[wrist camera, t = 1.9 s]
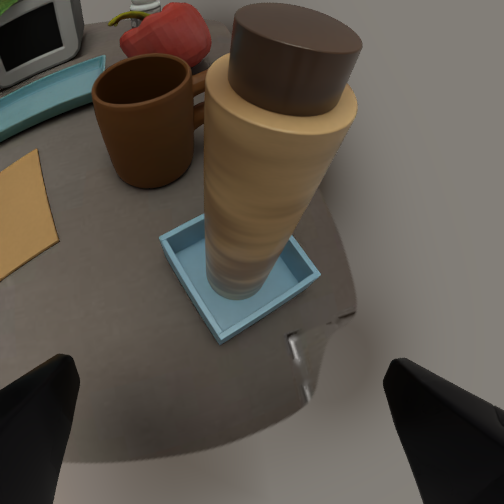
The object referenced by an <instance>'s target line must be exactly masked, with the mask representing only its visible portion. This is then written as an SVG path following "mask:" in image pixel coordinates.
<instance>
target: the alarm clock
mask: <svg viewBox="0 0 504 504" xmlns="http://www.w3.org/2000/svg"><path fill="white" fill-rule="evenodd" d="M83 30H84V21H83V15H82V9H81V3H80V0H18V1H17V2H16V3H14V4H13V5H11V6H10V7H9V8H8V9H7V10H6V11H5V12H4V13H3V14H2V15H1V16H0V88H3V89H4V88H7V87H11V86H13V85H15V84H17V83H19V82H21V81H23V80H25V79H27V78H29V77H31V76H33V75H36V74H38V73H40V72H42V71H45V70H47V69H49V68H52V67H54V66H57V65H59V64H62V63H64V62H67V61H68V60H70V59H72V58H73V57H75V56H76V54H77V53H78V51H79V50H80V46H81V40H82V36H83Z"/></svg>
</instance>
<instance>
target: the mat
mask: <svg viewBox="0 0 504 504" xmlns="http://www.w3.org/2000/svg"><path fill="white" fill-rule="evenodd" d="M57 242H59V238H58V235H57V231H56V228H55V224H54V221H53V217H52V214H51V210H50V206H49V202H48V198H47V194H46V190H45V185H44V180H43V176H42V171H41V166H40V160H39V154H38V149H37V148H36V149H35V150H33V151H31V152H30V153H28V154H27V155H25V156H24V157H22V158H21V159H19V160H18V161H16V162H15V163H13V164H12V165H10V166H9V167H7V168H6V169H5V170H3V171H2V172H0V281H1V280H3V279H4V278H5V277H7V276H8V275H10V274H11V273H12V272H14V271H15V270H17V269H18V268H20V267H21V266H22V265H24V264H25V263H27V262H28V261H30V260H31V259H33V258H34V257H36V256H37V255H39V254H40V253H42V252H43V251H45V250H46V249H48V248H50V247H51V246H53V245H54V244H56V243H57Z"/></svg>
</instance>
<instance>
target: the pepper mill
mask: <svg viewBox="0 0 504 504" xmlns="http://www.w3.org/2000/svg"><path fill="white" fill-rule="evenodd" d="M361 49H362V41H361V39H360V37H359V36H358V35H357V34H356V33H355V32H354V31H353V30H352V29H351V28H349V27H348V26H346V25H345V24H343V23H342V22H340V21H338V20H336V19H334V18H332V17H330V16H328V15H326V14H323V13H320V12H318V11H315V10H312V9H308V8H305V7H300V6H296V5H290V4H283V3H257V4H250V5H246V6H244V7H242V8H240V9H238V10H237V11H236V13H235V16H234V23H233V31H232V40H231V49H230V53H228V54H226V55H224V56H222V57H220V58H219V59H217V60H216V61H215V62H214V63H213V64H212V65H211V66H210V68H209V69H208V71H207V74H206V78H205V106H204V224H205V257H206V276H207V280H208V282H209V284H210V286H211V287H212V289H213V290H214V291H215V292H216V293H217V294H219V295H220V296H222V297H224V298H226V299H230V300H243V299H247V298H250V297H251V296H253V295H255V294H256V293H257V292H258V291H259V290H260V289H261V287H262V286H263V284H264V282H265V280H266V279H267V277H268V275H269V274H270V272H271V270H272V268H273V267H274V265H275V263H276V261H277V260H278V258H279V256H280V254H281V253H282V251H283V249H284V247H285V245H286V244H287V242H288V240H289V238H290V237H291V235H292V233H293V231H294V230H295V228H296V226H297V224H298V222H299V221H300V219H301V217H302V215H303V213H304V212H305V210H306V208H307V206H308V204H309V203H310V201H311V199H312V197H313V195H314V193H315V192H316V190H317V188H318V186H319V184H320V183H321V181H322V179H323V177H324V175H325V173H326V171H327V170H328V168H329V166H330V164H331V162H332V160H333V158H334V157H335V155H336V153H337V151H338V149H339V147H340V145H341V144H342V141H343V140H344V137H345V136H346V134H347V132H348V130H349V128H350V126H351V125H352V123H353V120H354V119H355V117H356V114H357V100H356V97H355V94H354V92H353V91H352V89H351V87H350V86H349V85H348V84H347V81H348V79H349V77H350V75H351V72H352V70H353V68H354V65H355V63H356V61H357V59H358V56H359V54H360V51H361Z"/></svg>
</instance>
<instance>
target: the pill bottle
mask: <svg viewBox="0 0 504 504" xmlns="http://www.w3.org/2000/svg"><path fill="white" fill-rule="evenodd" d="M132 3H133V4H132V5H131V6H130V11H141V12H145V13H148V14H154V13H157V12H161V6H160V1H159V0H132ZM141 22H142V21H141V20H139V19H135V18H131V25H132V29H133V28H136V27H139V26H140V24H141Z"/></svg>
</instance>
